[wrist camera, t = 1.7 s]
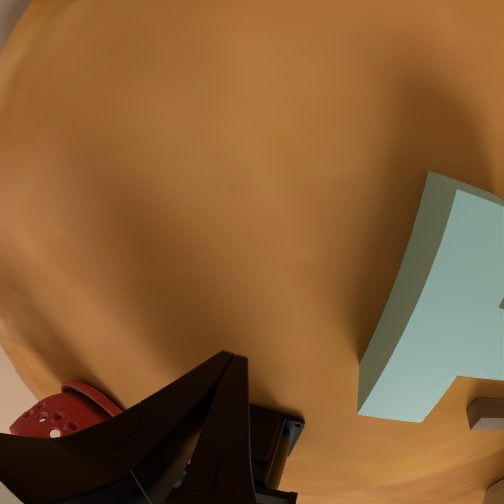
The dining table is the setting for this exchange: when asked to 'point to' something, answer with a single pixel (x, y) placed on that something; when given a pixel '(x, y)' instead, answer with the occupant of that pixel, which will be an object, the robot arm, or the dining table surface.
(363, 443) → the dining table surface
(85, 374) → the dining table surface
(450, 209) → the tee
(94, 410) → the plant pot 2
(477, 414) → the dock
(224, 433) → the robot arm
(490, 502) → the plant pot
